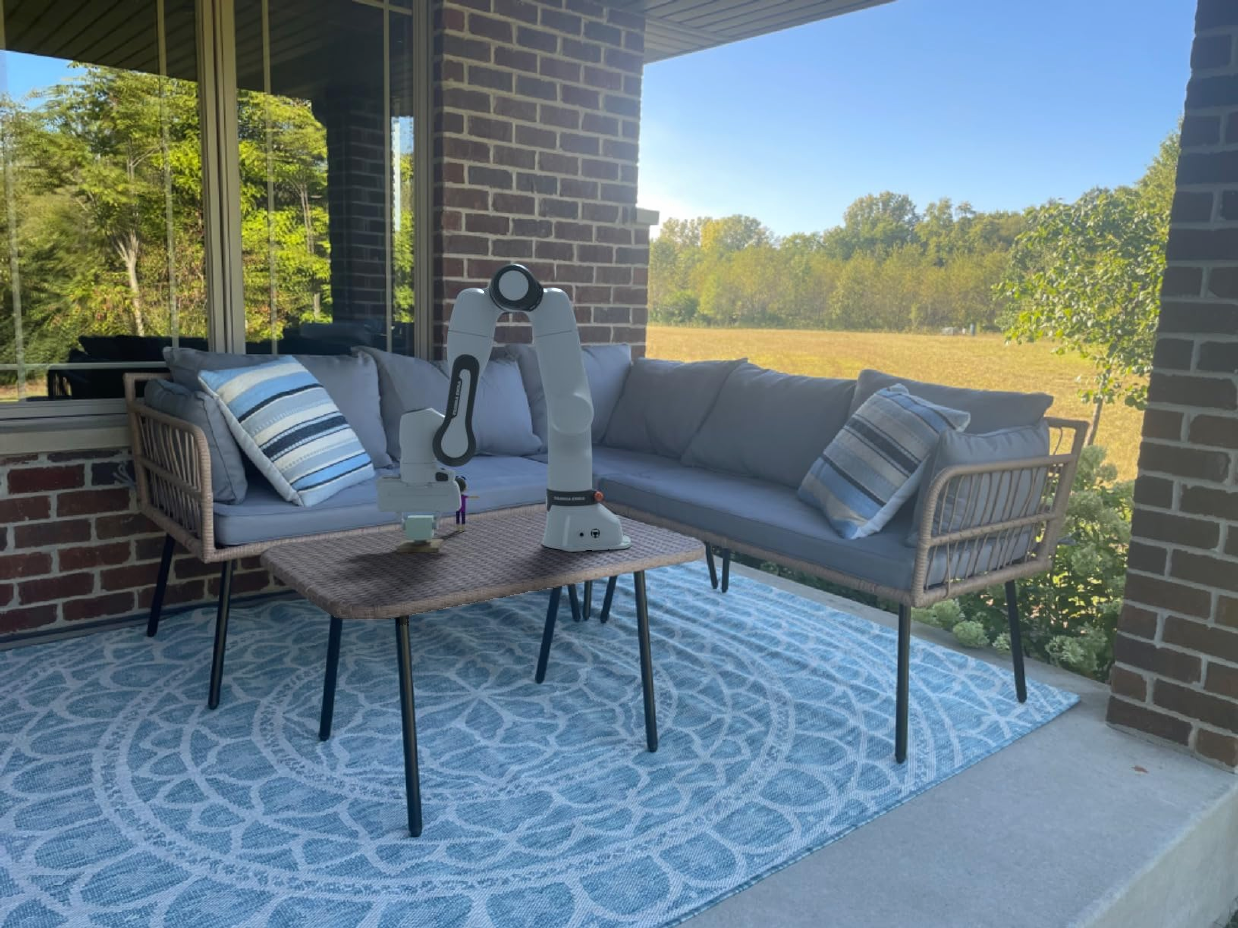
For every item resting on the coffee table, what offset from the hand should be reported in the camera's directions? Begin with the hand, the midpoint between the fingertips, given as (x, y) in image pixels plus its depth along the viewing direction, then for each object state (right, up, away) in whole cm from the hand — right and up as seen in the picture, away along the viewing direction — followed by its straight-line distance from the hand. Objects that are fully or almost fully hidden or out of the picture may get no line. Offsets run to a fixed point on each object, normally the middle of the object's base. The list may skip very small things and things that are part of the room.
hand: (420, 529), depth 220 cm
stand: (0, -5, +1) cm, 5 cm away
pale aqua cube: (0, -2, 0) cm, 2 cm away
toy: (+6, -2, +20) cm, 21 cm away
